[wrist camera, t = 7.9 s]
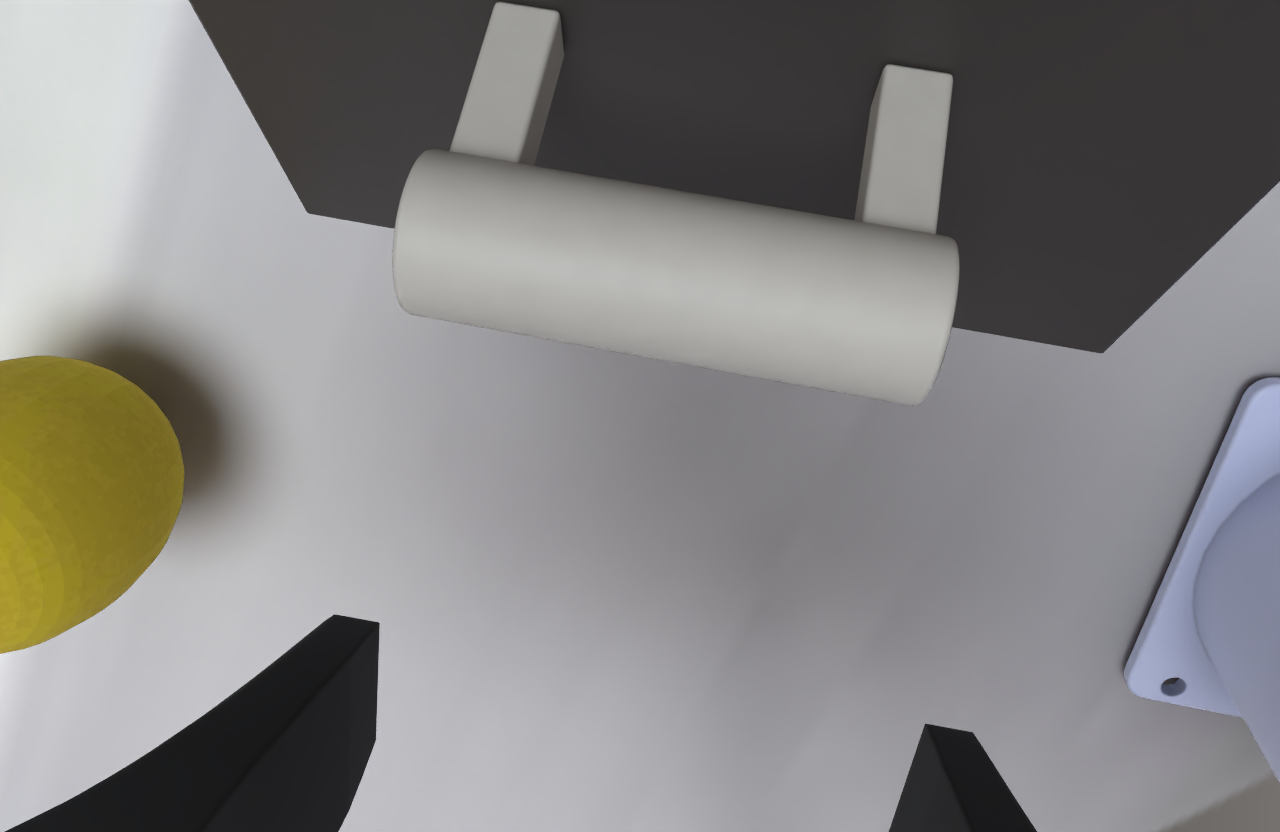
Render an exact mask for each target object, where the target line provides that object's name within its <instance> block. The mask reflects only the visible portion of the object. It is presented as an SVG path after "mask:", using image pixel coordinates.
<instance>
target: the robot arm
mask: <svg viewBox="0 0 1280 832" xmlns="http://www.w3.org/2000/svg"><path fill="white" fill-rule="evenodd" d="M378 654H379V623H378V622H373V621H367V620H362V619H357V618H351V617H346V616H340V615H333V616H332V617H330V618H328V619H327V620H326V621H324V622H323V623H322V624H321V625H319V626H318V627H317V628H316V629H314V630H313V631H312V632H311V633H309V634H308V635H307V636H306V637H304V638H303V639H302V640H301V641H299V642H298V643H297V644H296V645H295V646H293V647H292V648H291V649H290V650H288V651H287V652H286V653H285V654H283V655H282V656H281V657H280V658H278V659H277V660H276V661H275V662H273V663H272V664H271V665H270V666H268V667H267V668H266V669H264V670H263V671H262V672H261V673H259V674H258V675H257V676H256V677H254V678H253V679H252V680H250V681H249V682H248V683H246V684H245V685H244V686H242V687H241V688H240V689H238V690H237V691H236V692H234V693H233V694H232V695H230V696H229V697H228V698H226V699H225V700H224V701H222V702H221V703H220V704H218V705H217V706H216V707H214V708H213V709H212V710H210V711H209V712H207V713H206V714H205V715H203V716H202V717H200V718H199V719H197V720H196V721H195V722H193V723H192V724H190V725H189V726H187V727H186V728H184V729H183V730H181V731H180V732H178V733H177V734H175V735H174V736H173V737H171V738H170V739H168V740H167V741H165V742H164V743H162V744H161V745H159V746H158V747H156V748H155V749H153V750H152V751H150V752H149V753H147V754H146V755H144V756H143V757H141V758H139V759H138V760H136V761H135V762H133V763H131V764H130V765H128V766H127V767H125V768H123V769H122V770H120V771H118V772H117V773H115V774H113V775H112V776H110V777H108V778H107V779H105V780H103V781H101V782H100V783H98V784H96V785H95V786H93V787H91V788H89V789H88V790H86V791H84V792H82V793H81V794H79V795H77V796H75V797H73V798H71V799H70V800H68V801H66V802H64V803H62V804H60V805H58V806H56V807H54V808H52V809H50V810H48V811H46V812H44V813H42V814H40V815H38V816H36V817H34V818H32V819H30V820H28V821H26V822H24V823H22V824H20V825H18V826H16V827H14V828H11V829H9V830H7V831H5V832H338V831H339V829H340V827H341V825H342V823H343V821H344V819H345V817H346V815H347V813H348V811H349V809H350V807H351V804H352V801H353V799H354V796H355V794H356V791H357V789H358V786H359V784H360V781H361V779H362V776H363V773H364V771H365V768H366V765H367V762H368V760H369V757H370V754H371V752H372V749H373V746H374V744H375V741H376V716H377V685H378ZM1124 678H1125V681H1126V683H1127V685H1128V688H1129V690H1130V691H1131V692H1132V693H1133V694H1134V695H1136V696H1139V697H1142V698H1145V699H1150V700H1155V701H1160V702H1166V703H1171V704H1176V705H1181V706H1186V707H1191V708H1196V709H1201V710H1206V711H1211V712H1216V713H1221V714H1226V715H1231V716H1236V717H1241V718H1243V719H1244V720H1245V722H1246V724H1247V726H1248V728H1249V729H1250V731H1251V733H1252V735H1253V737H1254V738H1255V740H1256V742H1257V744H1258V746H1259V747H1260V749H1261V751H1262V753H1263V755H1264V756H1265V758H1266V760H1267V762H1268V764H1269V765H1270V767H1271V769H1272V771H1273V773H1274V774H1275V776H1276V778H1277V780H1278V782H1279V783H1280V378H1279V377H1268V378H1265V379H1262V380H1259V381H1256V382H1255V383H1254V384H1252V385H1251V386H1250V387H1248V389H1247V390H1246V392H1245V393H1244V395H1243V396H1242V399H1241V401H1240V403H1239V406H1238V408H1237V410H1236V412H1235V415H1234V417H1233V419H1232V422H1231V424H1230V426H1229V429H1228V431H1227V433H1226V436H1225V438H1224V440H1223V442H1222V445H1221V447H1220V449H1219V452H1218V454H1217V456H1216V459H1215V461H1214V463H1213V466H1212V468H1211V470H1210V472H1209V475H1208V477H1207V479H1206V482H1205V484H1204V486H1203V489H1202V491H1201V493H1200V496H1199V498H1198V500H1197V502H1196V505H1195V507H1194V509H1193V512H1192V514H1191V516H1190V519H1189V521H1188V523H1187V526H1186V528H1185V530H1184V532H1183V535H1182V537H1181V539H1180V542H1179V544H1178V546H1177V549H1176V551H1175V553H1174V556H1173V558H1172V560H1171V562H1170V565H1169V567H1168V569H1167V572H1166V574H1165V576H1164V579H1163V581H1162V583H1161V586H1160V588H1159V590H1158V592H1157V595H1156V597H1155V599H1154V602H1153V604H1152V606H1151V609H1150V611H1149V613H1148V616H1147V618H1146V620H1145V622H1144V625H1143V627H1142V629H1141V632H1140V634H1139V636H1138V639H1137V641H1136V643H1135V646H1134V648H1133V650H1132V652H1131V655H1130V657H1129V659H1128V662H1127V664H1126V666H1125V669H1124ZM1169 678H1179V680H1178V681H1177V682H1175V683H1173V684H1171V685H1164V684H1162V683H1163V682H1164V681H1165V680H1167V679H1169ZM889 832H1037V831H1036V829H1035V828H1034V826H1033V825H1032V823H1031V822H1030V820H1029V819H1028V817H1027V816H1026V814H1025V813H1024V811H1023V810H1022V808H1021V806H1020V805H1019V803H1018V802H1017V800H1016V799H1015V797H1014V796H1013V794H1012V793H1011V791H1010V789H1009V788H1008V786H1007V785H1006V783H1005V782H1004V780H1003V778H1002V777H1001V775H1000V774H999V772H998V771H997V769H996V767H995V766H994V764H993V763H992V761H991V760H990V758H989V756H988V755H987V753H986V752H985V750H984V749H983V747H982V746H981V744H980V743H979V741H978V740H977V738H976V737H975V735H974V734H973V732H967V731H962V730H957V729H951V728H946V727H940V726H935V725H930V724H925V726H924V729H923V732H922V735H921V738H920V741H919V744H918V747H917V750H916V753H915V756H914V759H913V762H912V765H911V768H910V771H909V773H908V776H907V779H906V782H905V785H904V788H903V791H902V794H901V797H900V800H899V803H898V806H897V809H896V812H895V815H894V818H893V821H892V824H891V827H890V830H889Z"/></svg>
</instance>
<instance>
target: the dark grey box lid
mask: <svg viewBox="0 0 1280 832" xmlns="http://www.w3.org/2000/svg"><path fill="white" fill-rule="evenodd" d="M189 2H190V3H191V5H192V7H193V9H194V11H195V12H196V14H197V16H198V18H199V20H200V21H201V23H202V25H203V27H204V29H205V30H206V32H207V34H208V36H209V37H210V39H211V41H212V43H213V45H214V46H215V48H216V50H217V52H218V54H219V55H220V57H221V59H222V61H223V63H224V64H225V66H226V68H227V70H228V71H229V73H230V75H231V77H232V79H233V80H234V82H235V84H236V86H237V88H238V89H239V91H240V93H241V95H242V97H243V98H244V100H245V102H246V104H247V105H248V107H249V109H250V111H251V113H252V114H253V116H254V118H255V120H256V122H257V123H258V125H259V127H260V129H261V131H262V132H263V134H264V136H265V138H266V139H267V141H268V143H269V145H270V147H271V148H272V150H273V152H274V154H275V156H276V157H277V159H278V161H279V163H280V165H281V166H282V168H283V170H284V172H285V173H286V175H287V177H288V179H289V181H290V182H291V184H292V186H293V188H294V190H295V191H296V193H297V195H298V197H299V199H300V200H301V202H302V204H303V206H304V207H305V209H306V211H307V212H308V213H310V214H315V215H320V216H326V217H332V218H337V219H343V220H349V221H354V222H360V223H366V224H371V225H377V226H383V227H388V228H394V229H395V230H394V239H393V259H392V263H393V279H394V287H395V292H396V296H397V299H398V302H399V304H400V306H401V307H402V309H403V310H404V311H406V312H407V313H409V314H411V315H416V316H422V317H427V318H433V319H438V320H444V321H449V322H455V323H460V324H466V325H471V326H477V327H482V328H488V329H493V330H499V331H504V332H510V333H515V334H521V335H526V336H532V337H537V338H543V339H548V340H554V341H559V342H565V343H570V344H576V345H581V346H587V347H592V348H598V349H603V350H609V351H614V352H620V353H625V354H631V355H636V356H642V357H647V358H653V359H658V360H664V361H669V362H675V363H680V364H686V365H691V366H697V367H702V368H708V369H713V370H719V371H724V372H730V373H735V374H741V375H746V376H752V377H757V378H763V379H768V380H774V381H779V382H785V383H790V384H796V385H801V386H807V387H812V388H818V389H823V390H828V391H834V392H839V393H845V394H850V395H856V396H861V397H867V398H872V399H878V400H883V401H889V402H894V403H900V404H905V405H911V406H914V405H919V404H921V403H922V402H923V401H924V400H925V399H926V397H927V396H928V394H929V392H930V391H931V389H932V387H933V385H934V383H935V380H936V378H937V376H938V373H939V370H940V367H941V365H942V362H943V358H944V355H945V352H946V348H947V344H948V341H949V337H950V332H951V328H952V327H955V328H960V329H966V330H972V331H977V332H983V333H989V334H994V335H1000V336H1006V337H1011V338H1017V339H1023V340H1028V341H1034V342H1040V343H1045V344H1051V345H1057V346H1062V347H1068V348H1074V349H1079V350H1085V351H1090V352H1096V353H1103V352H1104V351H1105V350H1107V349H1108V348H1109V347H1110V346H1111V345H1112V344H1113V343H1114V342H1115V341H1116V340H1117V339H1118V338H1119V337H1120V336H1121V335H1122V334H1123V333H1124V332H1125V331H1126V330H1127V329H1128V328H1129V327H1130V326H1131V325H1132V324H1133V323H1134V322H1135V321H1136V320H1137V319H1138V318H1139V317H1140V316H1142V315H1143V314H1144V313H1145V312H1146V311H1147V310H1148V309H1149V308H1150V307H1151V306H1152V305H1153V304H1154V303H1155V302H1156V301H1157V300H1158V299H1159V298H1160V297H1161V296H1162V295H1163V294H1164V293H1165V292H1166V291H1167V290H1168V289H1169V288H1170V287H1171V286H1172V285H1173V284H1174V283H1175V282H1177V281H1178V280H1179V279H1180V278H1181V277H1182V276H1183V275H1184V274H1185V273H1186V272H1187V271H1188V270H1189V269H1190V268H1191V267H1192V266H1193V265H1194V264H1195V263H1196V262H1197V261H1198V260H1199V259H1200V258H1201V257H1202V256H1203V255H1204V254H1205V253H1206V252H1207V251H1208V250H1209V249H1210V248H1212V247H1213V246H1214V245H1215V244H1216V243H1217V242H1218V241H1219V240H1220V239H1221V238H1222V237H1223V236H1224V235H1225V234H1226V233H1227V232H1228V231H1229V230H1230V229H1231V228H1232V227H1233V226H1234V225H1235V224H1236V223H1237V222H1238V221H1239V220H1240V219H1241V218H1242V217H1243V216H1244V215H1245V214H1246V213H1248V212H1249V211H1250V210H1251V209H1252V208H1253V207H1254V206H1255V205H1256V204H1257V203H1258V202H1259V201H1260V200H1261V199H1262V198H1263V197H1264V196H1265V195H1266V194H1267V193H1268V192H1269V191H1270V190H1271V189H1272V188H1273V187H1274V186H1275V185H1276V184H1277V183H1278V182H1279V181H1280V0H189Z"/></svg>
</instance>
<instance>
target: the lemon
mask: <svg viewBox="0 0 1280 832" xmlns="http://www.w3.org/2000/svg"><path fill="white" fill-rule="evenodd" d="M183 487H184V464H183V459H182V454H181V449H180V445H179V442H178V439H177V437H176V435H175V433H174V431H173V428H172V426H171V424H170V422H169V420H168V419H167V417H166V416H165V415H164V413H163V412H162V411H161V409H160V408H159V407H158V405H157V404H156V403H155V401H154V400H152V399H151V398H150V397H149V396H148V395H147V394H146V393H145V392H144V391H143V390H141V389H140V388H139V387H138V386H137V385H136V384H134V383H132V382H131V381H129V380H127V379H126V378H124V377H122V376H121V375H119V374H117V373H116V372H113V371H111V370H109V369H106V368H103V367H101V366H98V365H95V364H92V363H89V362H87V361H83V360H77V359H70V358H62V357H54V356H32V357H25V358H17V359H10V360H4V361H0V654H2V653H6V652H11V651H16V650H21V649H25V648H28V647H31V646H34V645H37V644H40V643H42V642H45V641H47V640H49V639H51V638H54V637H56V636H57V635H59V634H61V633H63V632H65V631H67V630H69V629H70V628H72V627H74V626H76V625H78V624H79V623H81V622H83V621H85V620H87V619H89V618H90V617H92V616H94V615H95V614H97V613H98V612H100V611H102V610H103V609H105V608H106V607H107V606H109V605H110V604H111V603H113V602H114V601H115V600H117V599H118V598H119V597H120V596H121V595H122V594H124V593H125V592H126V591H127V590H128V589H129V588H130V587H131V586H132V585H133V584H134V582H135V581H136V580H137V579H138V578H139V577H140V576H141V575H142V574H143V572H144V571H145V570H146V569H147V568H148V567H149V566H150V565H151V563H152V562H153V561H154V560H155V558H156V557H157V556H158V555H159V553H160V552H161V550H162V549H163V547H164V545H165V544H166V542H167V540H168V538H169V536H170V533H171V531H172V529H173V526H174V524H175V521H176V519H177V516H178V514H179V511H180V508H181V504H182V500H183Z"/></svg>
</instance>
